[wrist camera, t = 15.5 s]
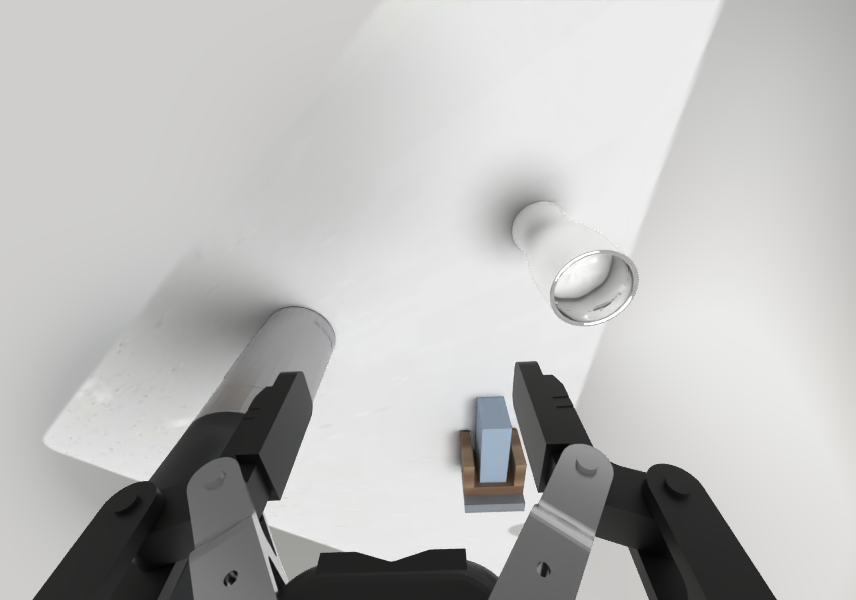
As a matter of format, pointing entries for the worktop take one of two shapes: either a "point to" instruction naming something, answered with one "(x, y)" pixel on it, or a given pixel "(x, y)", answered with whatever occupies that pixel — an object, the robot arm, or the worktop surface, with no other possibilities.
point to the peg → (492, 439)
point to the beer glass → (574, 265)
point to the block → (511, 485)
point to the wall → (493, 502)
